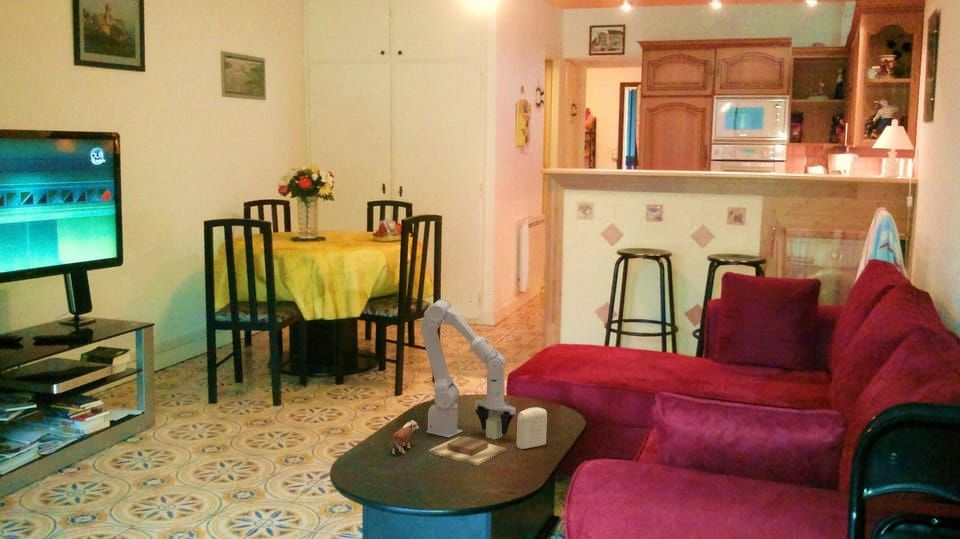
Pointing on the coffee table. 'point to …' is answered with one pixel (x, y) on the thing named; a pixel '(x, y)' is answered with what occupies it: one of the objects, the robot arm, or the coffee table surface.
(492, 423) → the sage block
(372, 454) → the coffee table surface
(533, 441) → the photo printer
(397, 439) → the bull figurine
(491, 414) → the dice cube
